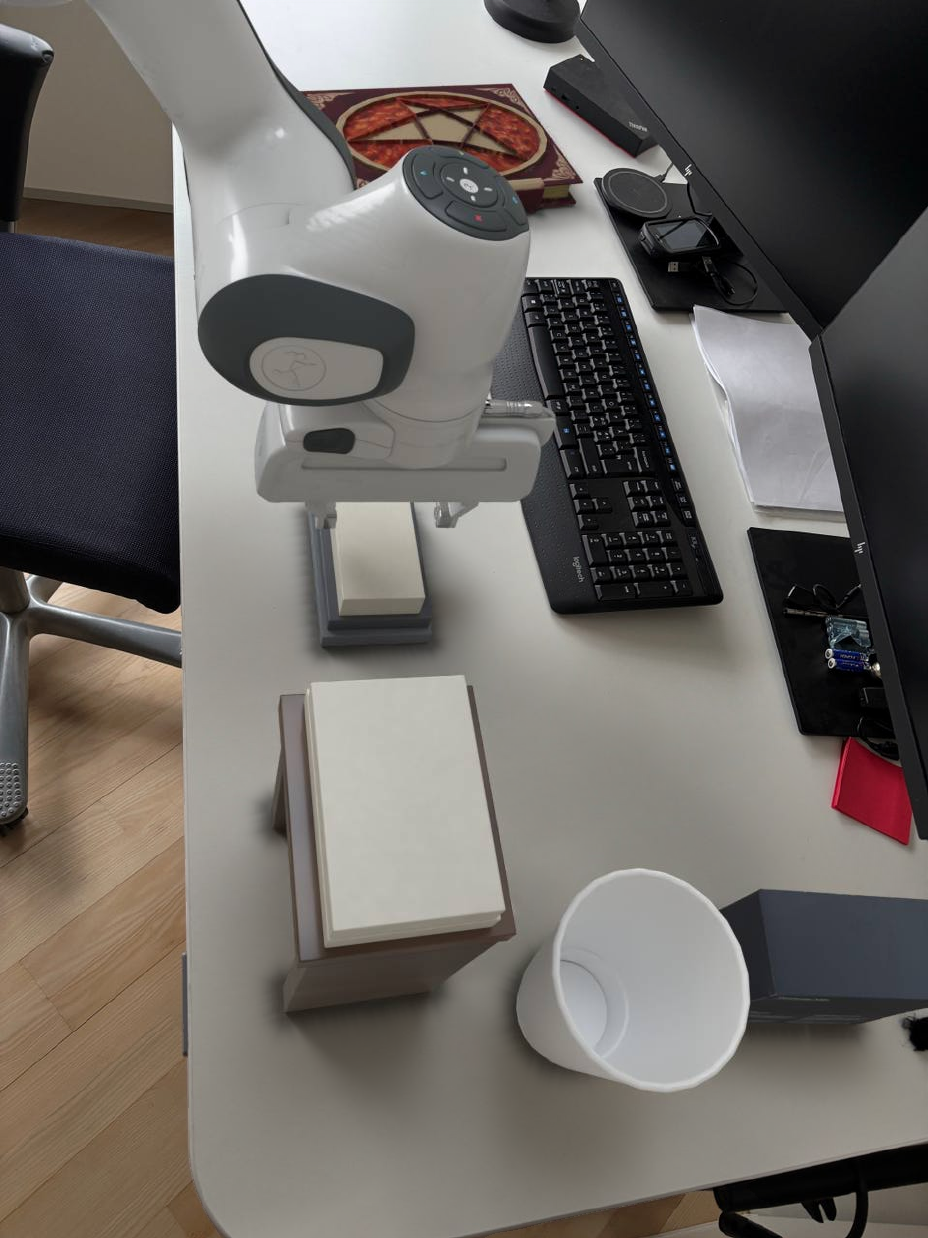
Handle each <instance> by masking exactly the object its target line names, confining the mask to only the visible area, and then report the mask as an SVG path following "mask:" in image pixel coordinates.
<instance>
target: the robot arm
mask: <svg viewBox="0 0 928 1238" xmlns="http://www.w3.org/2000/svg"><path fill="white" fill-rule="evenodd" d="M74 1H75V0H0V5H1V6H6V7H14V8H26V9H27V8H28V9H40V8H41V9H42V8H50V7H56V6H61V5H65V4H67V3H70V2H74ZM83 1H84V2H86V4H87V5H88V6H89V7H90V8H91V9H92V10H93V11H94V13H95V14H96V15H97V16H98V18H99V19H100V20H101V21H102V23H103V25H104V26H105V27H106V29H107V30H108V32H109V33H110V34H111V36H112V37H113V39H114V41H116V43H117V45H118V47H120V49H121V50H122V51H123V53H124V54H125V56H126V58H127V59H128V60H129V62H130V63H131V65H132V67H133V68H134V69H135V71H136V72H137V73H138V75H139V77H140V78H141V80H143V82H144V84H145V85H146V86H147V88H148V89H149V91H150V92H151V94H152V95H153V97H154V98H155V99H156V101H157V102H158V104H159V105H160V107H161V108H162V110H163V111H164V113H165V114H166V115H167V117H168V118H169V120H170V121H171V123H172V125H173V127H174V129H175V131H176V133H177V136H178V138H179V142H180V145H181V150H182V159H183V169H184V177H185V185H186V193H187V197H188V202H189V207H190V208H189V210H190V221H191V237H192V238H191V239H192V251H193V252H192V253H193V255H192V256H193V268H194V269H193V270H194V274H193V280H194V298H195V299H194V300H195V310H196V311H195V312H196V321H197V340H198V343H199V347H200V350H201V352H202V354H203V356H204V358H205V360H206V361H207V362H208V364H209V365H210V366H211V367H212V368H213V369H214V371H215V372H217V374H218V375H219V376H221V378H223V379H224V380H226V381H227V382H228V383H230V385H232V386H234V387H236V388H237V389H239V390H240V391H242V392H243V393H245V394H248V395H249V396H252V397H254V398H257V399H260V400H264V401H267V402H266V404H265V406H264V407H263V410H262V413H261V416H260V420H259V424H258V428H257V432H256V438H255V444H254V456H253V457H254V458H253V461H254V464H253V465H254V466H253V467H254V482H255V491H256V493H257V495H258V496H259V497H260V498H262V499H263V500H264V501H266V502H268V503H272V504H273V503H304V507H305V508H306V509H307V510H308V512H309V511H310V512H311V513H312V514H313V515H314V516H315V525H316V529H334V528H336V522H337V511H336V510H335V508H336V502H414V503H435V506H434V510H433V517H434V518H433V519H434V520H435V523H434V524H435V528H436V529H437V528H438V529H455V528H456V527H457V523H458V521H459V518H461V517H463V516H465V515H467V514H468V513H469V512H471V511H472V510H473V509H475V508H477V507H478V506H479V503H517V502H519V501H521V500H523V499H524V498H526V497H527V496H530V494H531V492H532V490H533V488H534V485H535V482H536V479H537V475H538V472H539V467H540V463H541V462H540V461H541V457H542V456H541V453H542V447H543V446H545V445H546V444H547V443H548V442H549V441H550V439H551V437H552V435H553V433H554V431H555V428H556V425H557V416H556V413H555V412H554V411H553V410H552V409H551V408H548V407H545V406H543V403H542V402H540V401H537V400H529V399H528V400H527V399H526V400H525V399H524V400H522V401H516V400H515V401H513V400H509V399H508V400H507V399H497V398H496V399H495V398H492V399H491V398H488V397H489V395H490V392H491V388H492V385H493V381H494V380H493V379H494V361H495V360H496V359H497V357H498V356H499V355H500V354H501V352H502V351H503V349H504V348H505V346H506V344H507V342H508V338H509V336H510V335H511V331H512V327H513V324H514V321H515V318H516V314H517V313H518V308H519V304H520V301H521V297H522V295H523V294H522V293H523V289H524V287H525V286H524V285H525V281H526V277H527V272H528V265H529V261H530V260H529V259H530V254H531V242H532V232H531V224H530V221H529V217H528V213H527V212H526V211H525V209H524V207H523V204H522V202H521V200H520V199H519V197H518V195H517V193H516V192H515V190H514V189H513V188H512V186H511V185H510V184H509V182H508V181H507V180H506V179H505V178H504V177H503V176H502V175H501V174H499V173H498V172H497V171H496V170H495V169H493V168H492V167H491V166H489V165H488V164H487V163H486V162H484V161H482V160H481V159H479V158H477V157H475V156H473V155H471V154H469V153H466V152H464V151H461V150H457V149H454V148H450V147H445V146H437V145H427V146H421V147H417V148H415V149H413V150H411V151H409V152H408V153H407V154H405V155H404V156H403V157H402V158H401V159H400V160H399V162H398V163H397V164H396V165H395V166H394V167H393V168H392V169H390V170H389V171H388V172H387V173H386V174H384V175H382V176H381V177H379V178H378V179H376V180H374V181H372V182H370V183H369V184H367V185H365V186H363V187H361V188H359V189H357V188H356V174H355V166H354V162H353V158H352V155H351V152H350V149H349V147H348V145H347V143H346V141H345V139H344V137H343V136H342V134H341V133H340V131H339V130H338V129H337V127H336V126H335V125H334V124H333V122H332V121H331V120H330V119H329V118H328V117H327V116H326V115H325V114H324V113H323V112H322V111H321V110H320V109H319V108H318V107H317V106H316V105H314V104H313V103H312V102H311V101H310V100H309V99H308V98H307V97H306V96H304V95H303V94H302V93H301V92H300V91H301V90H299V89H298V88H297V87H296V86H295V85H294V83H292V82H291V80H289V79H288V78H287V77H286V75H285V74H284V73H283V72H282V71H281V70H280V68H279V67H278V66H277V64H276V63H275V62H274V60H273V59H272V57H271V56H270V54H269V52H268V51H267V49H266V47H265V45H264V44H263V42H262V40H261V38H260V36H259V34H258V32H257V31H256V29H255V27H254V25H253V23H252V21H251V19H250V17H249V15H248V13H247V11H246V9H245V7H244V5H243V3H242V2H241V0H83Z"/></svg>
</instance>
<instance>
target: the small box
mask: <svg viewBox="0 0 928 1238" xmlns="http://www.w3.org/2000/svg"><path fill="white" fill-rule="evenodd" d="M718 911H719V912H720V913H721V914H722V915H723V917H724V918H725V919H726V920H727V922H728V924H729V926H730V927H731V929H732V931H733V933H734V935H735V937H736V939H737V941H738V943H739V944H740V946H741V950H742V953H743V957H744V960H745V964H746V967H747V971H748V976H749V992H750V1006H749V1012H748V1018H747V1023H751V1024H752V1023H753V1024H754V1023H755V1024H758V1023H759V1024H792V1025H795V1024H796V1025H825V1026H827V1025H828V1026H857V1025H862V1024H865V1023H866V1024H867V1023H870V1022H874V1021H879V1020H882V1019H886V1018H889V1017H894V1016H897V1015H901V1014H905V1013H911V1012H915V1011H920V1010H925V1009H928V899H925V898H924V899H923V898H911V897H896V896H895V897H894V896H879V895H864V894H848V893H847V894H846V893H832V892H831V893H830V892H818V891H817V892H816V891H805V890H804V891H803V890H788V889H774V888H773V889H771V888H759V889H757V890H755V891H753V892H751V893H749V894H748V895H746V896H744V897H741V898H740V899H737V900H736V901H734V902H732V903H730V904H728V905H726V906H724V907H722V908H720V909H718Z"/></svg>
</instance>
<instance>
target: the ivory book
mask: <svg viewBox="0 0 928 1238" xmlns="http://www.w3.org/2000/svg"><path fill="white" fill-rule="evenodd" d="M335 510H336V511H337V522H336V528H334V529H330V534H331V543H332V552H333V561H334V570H335V580H336V589H337V598H338V607H339V615H340V616H352V615H388V614H419V613H420V610H421V607H422V605H423V602H424V599H425V593H424V587H423V581H422V574H421V568H420V562H419V556H418V549H417V543H416V537H415V531H414V524H413V518H412V512H411V506H410V502H336V508H335Z"/></svg>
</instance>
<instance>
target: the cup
mask: <svg viewBox="0 0 928 1238" xmlns="http://www.w3.org/2000/svg"><path fill="white" fill-rule="evenodd" d="M718 910H719V909H718V908H717V907H716V906H715V905H714V904H713V902H712V901H711V900H710V899H709V898H708V897H707V896H706V895H704V894H703V893H701V892H700V891H699V890H698V889H697V888H695V887H694V886H693V885H691V884H690V883H688V882H687V881H684V880H683V879H681V878H678V877H676V876H674V875H671V874H670V873H667V872H665V871H659V870H654V869H648V868H641V867H638V868H629V869H628V868H627V869H621V870H620V869H619V870H613V871H611V872H608V873H607V874H604V875H603V876H599V877H597V878H596V879H593V880H592V881H590V882H589V883H588V884H587V885H585V887H584V888H582V889H581V890H580V891H579V892H578V893H577V894H575V895H574V897H573V898H572V900H571V901H570V902H569V905H568V906H567V907H566V909H565V910H564V912H563V913H562V915H561V917H560V919H559V921H558V922H557V924H556V925H555V927H554V928H553V930H552V931H551V932H550V934H549V935H548V937H547V938H546V939H545V941H544V943H543V944H542V945H541V947H540V948H539V950H537V952H536V954H535V955H534V957H533V958H532V960H531V961H530V962H529V964H528V966H527V967H526V969H525V970H524V972H523V975H522V978H521V982H520V985H519V989H518V991H517V995H516V1005H515V1006H516V1007H515V1011H516V1015H517V1022H518V1025H519V1027H520V1030H521V1032H522V1034H523V1037H524V1039H526V1041H527V1043H528V1044H529V1045H530V1046H531V1048H532V1049H534V1050H535V1051H536V1052H537V1053H538V1054H539V1055H541V1056H542V1057H544V1058H546V1059H547V1060H548V1061H550V1062H551V1063H552V1064H553V1063H554V1064H555V1065H557V1066H560V1067H562V1068H565V1069H567V1070H572V1071H575V1072H580V1073H583V1074H586V1075H591V1076H595V1077H598V1078H602V1079H606V1080H609V1081H614V1082H618V1083H622V1084H626V1085H628V1086H631V1087H632V1088H635V1089H637V1090H641V1091H648V1092H656V1093H663V1094H669V1093H673V1092H679V1091H684V1090H689V1089H694V1088H695V1087H697V1086H699V1085H701V1084H702V1083H704V1082H706V1081H708V1080H709V1079H711V1078H713V1077H714V1076H716V1075H717V1074H719V1072H720V1071H721V1070H722V1068H724V1066H725V1065H727V1063H728V1062H729V1061H730V1060H731V1059H732V1057H733V1056H734V1055H735V1053H736V1051H737V1050H738V1047H739V1044H740V1043H741V1041H742V1038H743V1036H744V1034H745V1032H746V1028H747V1023H748V1022H747V1018H748V1012H749V1006H750V992H749V976H748V971H747V967H746V964H745V960H744V957H743V953H742V950H741V946H740V944H739V943H738V941H737V939H736V937H735V935H734V933H733V931H732V929H731V927H730V926H729V924H728V922H727V920H726V919H725V918H724V917H723V915H722V914H721V913H720V912H719V911H718Z"/></svg>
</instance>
